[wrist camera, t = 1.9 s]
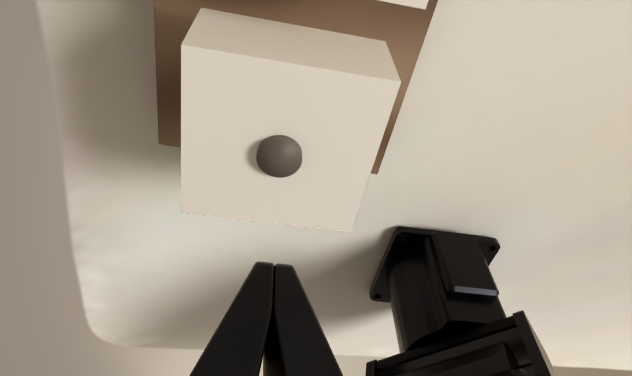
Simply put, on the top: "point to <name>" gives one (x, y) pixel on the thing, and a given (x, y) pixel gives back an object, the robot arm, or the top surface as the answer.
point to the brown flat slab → (299, 9)
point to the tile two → (410, 3)
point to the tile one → (280, 120)
